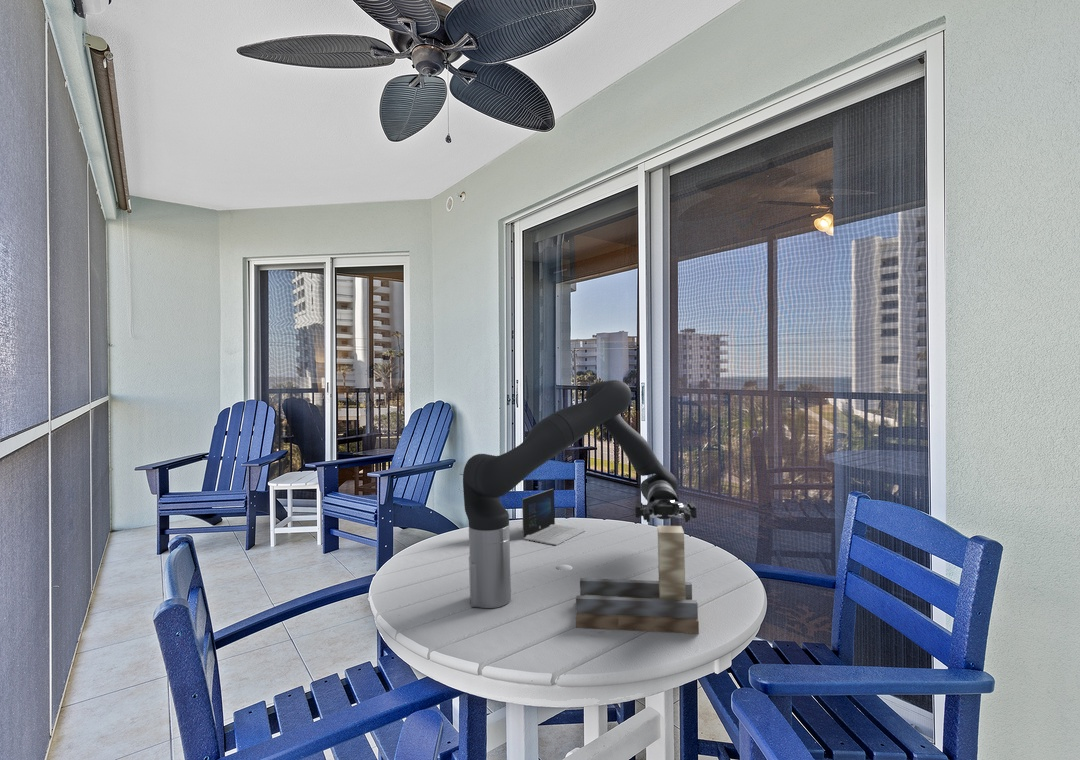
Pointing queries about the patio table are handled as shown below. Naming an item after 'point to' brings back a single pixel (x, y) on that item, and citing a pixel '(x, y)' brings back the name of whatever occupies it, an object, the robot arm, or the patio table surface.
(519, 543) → the patio table surface
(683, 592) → the tall block
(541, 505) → the laptop
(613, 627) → the channel deck
